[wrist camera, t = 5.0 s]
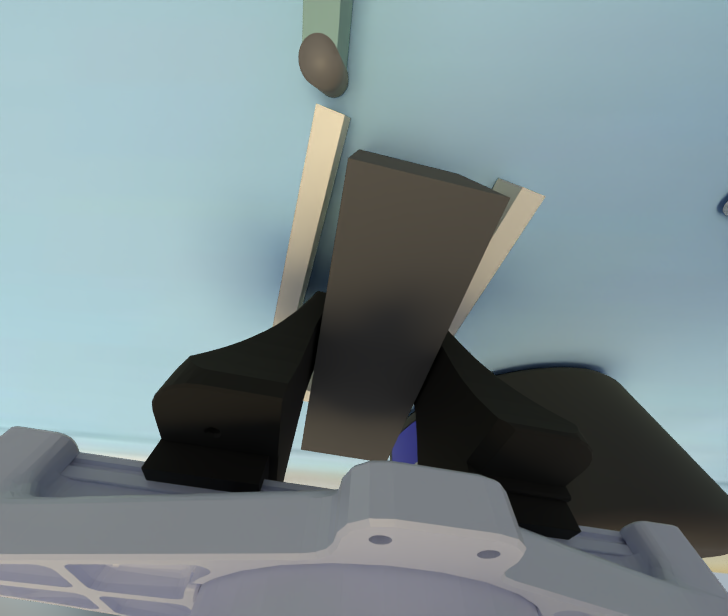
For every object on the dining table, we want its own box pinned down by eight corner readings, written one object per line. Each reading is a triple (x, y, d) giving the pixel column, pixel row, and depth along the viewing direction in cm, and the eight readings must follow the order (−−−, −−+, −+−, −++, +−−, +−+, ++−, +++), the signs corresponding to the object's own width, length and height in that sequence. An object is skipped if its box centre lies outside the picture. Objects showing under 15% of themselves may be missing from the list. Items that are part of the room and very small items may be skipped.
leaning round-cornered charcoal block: (597, 331, 17) (794, 509, 9) (607, 378, 19) (775, 558, 11) (368, 412, 22) (363, 572, 14) (395, 442, 24) (404, 598, 16)
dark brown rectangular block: (458, 174, 11) (510, 197, 7) (383, 382, 17) (385, 462, 13) (359, 149, 11) (348, 158, 6) (319, 370, 17) (300, 449, 13)
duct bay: (517, 185, 13) (545, 196, 11) (394, 393, 20) (396, 423, 18) (327, 108, 11) (316, 103, 9) (273, 361, 19) (260, 389, 17)
